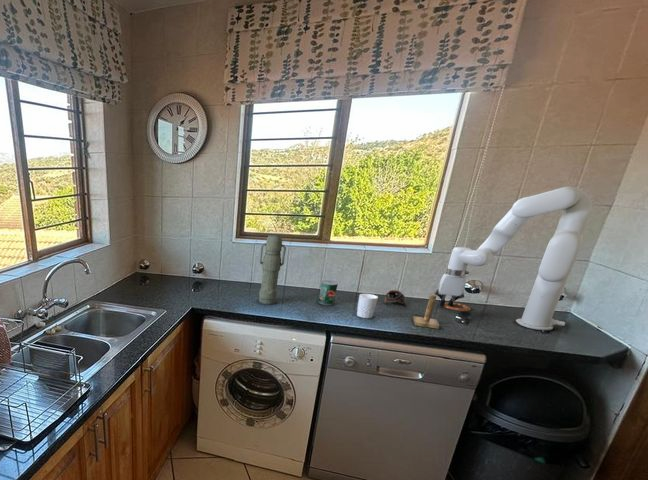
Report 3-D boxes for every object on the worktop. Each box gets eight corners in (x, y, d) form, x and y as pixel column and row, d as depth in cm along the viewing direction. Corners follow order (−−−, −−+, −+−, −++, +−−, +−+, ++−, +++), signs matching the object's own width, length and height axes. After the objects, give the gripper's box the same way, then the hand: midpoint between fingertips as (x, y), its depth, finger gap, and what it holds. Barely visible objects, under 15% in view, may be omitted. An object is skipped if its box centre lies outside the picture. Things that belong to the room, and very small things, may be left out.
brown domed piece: (409, 307, 206) (407, 295, 202) (389, 314, 209) (387, 302, 205) (399, 295, 216) (397, 283, 212) (380, 301, 219) (377, 290, 215)
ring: (466, 307, 206) (467, 303, 205) (472, 314, 196) (473, 310, 195) (440, 304, 210) (441, 300, 209) (444, 310, 201) (445, 307, 200)
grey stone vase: (279, 305, 207) (288, 236, 194) (255, 303, 210) (263, 235, 197) (278, 300, 215) (287, 234, 202) (255, 298, 218) (263, 233, 205)
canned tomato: (331, 306, 206) (335, 285, 202) (316, 303, 211) (319, 282, 207) (335, 302, 212) (339, 282, 208) (320, 299, 217) (323, 279, 213)
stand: (435, 322, 185) (443, 294, 180) (438, 328, 178) (447, 299, 173) (412, 319, 189) (420, 291, 184) (415, 325, 181) (422, 296, 176)
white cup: (363, 319, 188) (368, 299, 184) (351, 314, 195) (355, 294, 191) (377, 318, 190) (382, 297, 186) (364, 312, 197) (369, 293, 193)
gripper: (473, 272, 198) (462, 308, 205) (435, 269, 205) (425, 303, 211) (477, 276, 192) (466, 312, 199) (437, 272, 198) (427, 307, 205)
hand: (445, 307), depth 205 cm, fingers closed on ring, 2 cm apart
